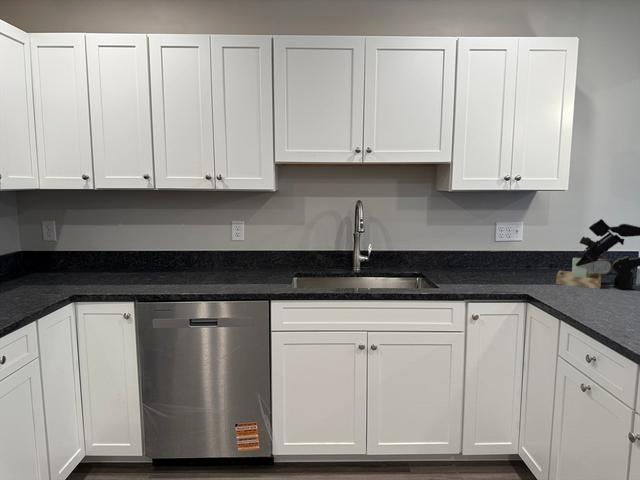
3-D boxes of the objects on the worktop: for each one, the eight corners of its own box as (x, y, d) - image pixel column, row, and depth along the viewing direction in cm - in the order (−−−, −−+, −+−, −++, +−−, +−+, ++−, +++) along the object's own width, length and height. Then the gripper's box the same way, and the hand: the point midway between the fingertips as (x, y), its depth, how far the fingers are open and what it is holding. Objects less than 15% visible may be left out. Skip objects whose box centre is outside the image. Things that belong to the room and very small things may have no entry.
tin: (608, 273, 229) (610, 258, 228) (612, 274, 226) (613, 259, 225) (580, 273, 230) (581, 258, 229) (583, 274, 227) (584, 259, 226)
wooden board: (600, 283, 204) (601, 274, 204) (600, 288, 193) (600, 279, 192) (558, 279, 214) (559, 270, 214) (556, 284, 203) (556, 275, 202)
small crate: (586, 278, 204) (587, 258, 203) (585, 280, 199) (587, 260, 198) (572, 277, 207) (573, 257, 206) (571, 279, 202) (572, 259, 201)
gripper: (592, 229, 206) (565, 250, 213) (591, 232, 191) (562, 254, 198) (610, 246, 202) (582, 266, 210) (610, 251, 187) (580, 272, 195)
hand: (576, 264), depth 203 cm, fingers closed on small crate, 6 cm apart
